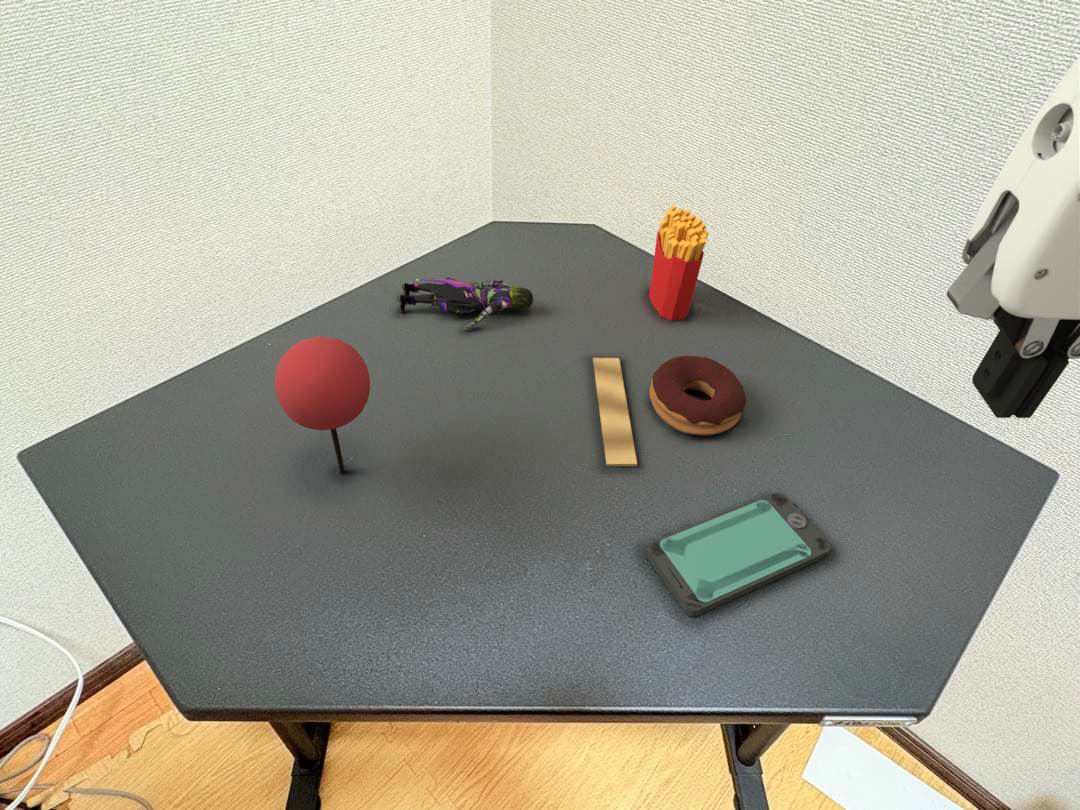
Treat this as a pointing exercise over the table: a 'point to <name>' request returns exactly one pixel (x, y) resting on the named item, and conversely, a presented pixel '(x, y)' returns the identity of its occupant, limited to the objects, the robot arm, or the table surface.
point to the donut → (694, 412)
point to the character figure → (466, 297)
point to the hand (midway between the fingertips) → (998, 399)
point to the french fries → (677, 263)
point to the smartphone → (736, 553)
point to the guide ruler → (614, 413)
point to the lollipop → (323, 385)
